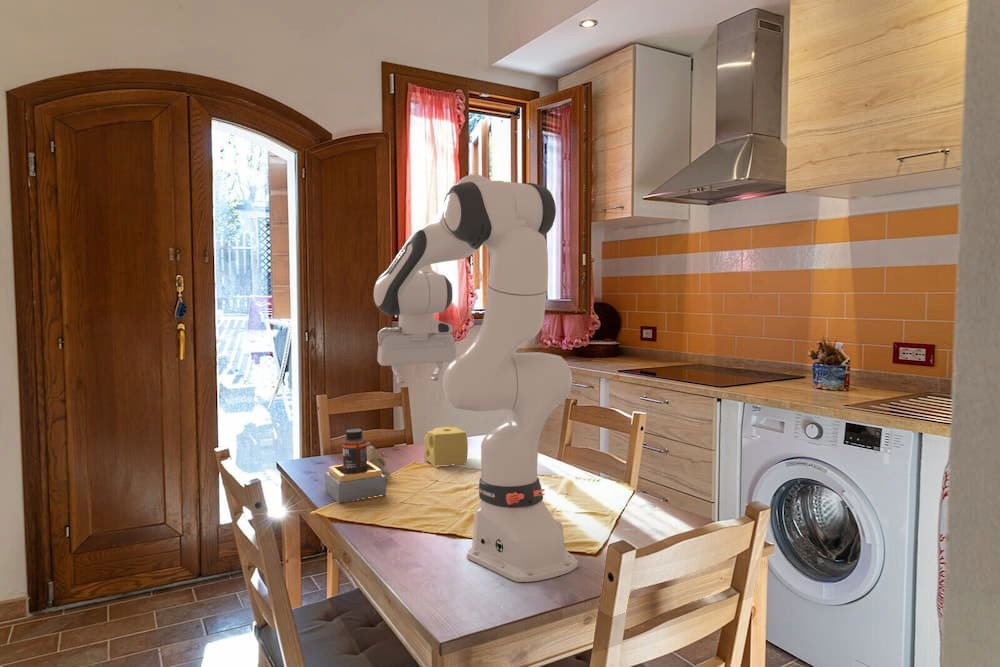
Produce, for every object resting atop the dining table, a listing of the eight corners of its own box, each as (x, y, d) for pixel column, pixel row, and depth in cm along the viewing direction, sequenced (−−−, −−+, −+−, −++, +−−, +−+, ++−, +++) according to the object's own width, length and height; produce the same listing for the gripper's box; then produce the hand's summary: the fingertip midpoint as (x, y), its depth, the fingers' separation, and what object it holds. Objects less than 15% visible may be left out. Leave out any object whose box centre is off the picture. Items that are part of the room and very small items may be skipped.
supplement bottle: (369, 470, 170) (368, 427, 169) (365, 477, 164) (364, 432, 163) (345, 471, 169) (344, 428, 169) (341, 477, 163) (340, 433, 163)
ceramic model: (396, 480, 179) (395, 444, 178) (356, 486, 173) (356, 449, 173) (378, 468, 191) (377, 435, 190) (340, 474, 185) (340, 439, 185)
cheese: (423, 460, 200) (422, 428, 199) (456, 456, 204) (455, 425, 204) (434, 468, 190) (434, 434, 190) (468, 464, 195) (468, 431, 194)
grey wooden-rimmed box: (386, 495, 165) (385, 470, 164) (338, 503, 159) (338, 477, 158) (370, 484, 175) (369, 460, 175) (325, 491, 169) (325, 466, 169)
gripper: (381, 328, 156) (383, 386, 156) (458, 325, 166) (459, 379, 167) (372, 327, 161) (374, 383, 162) (447, 325, 172) (448, 377, 172)
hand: (418, 381), depth 164 cm, fingers open, 8 cm apart
